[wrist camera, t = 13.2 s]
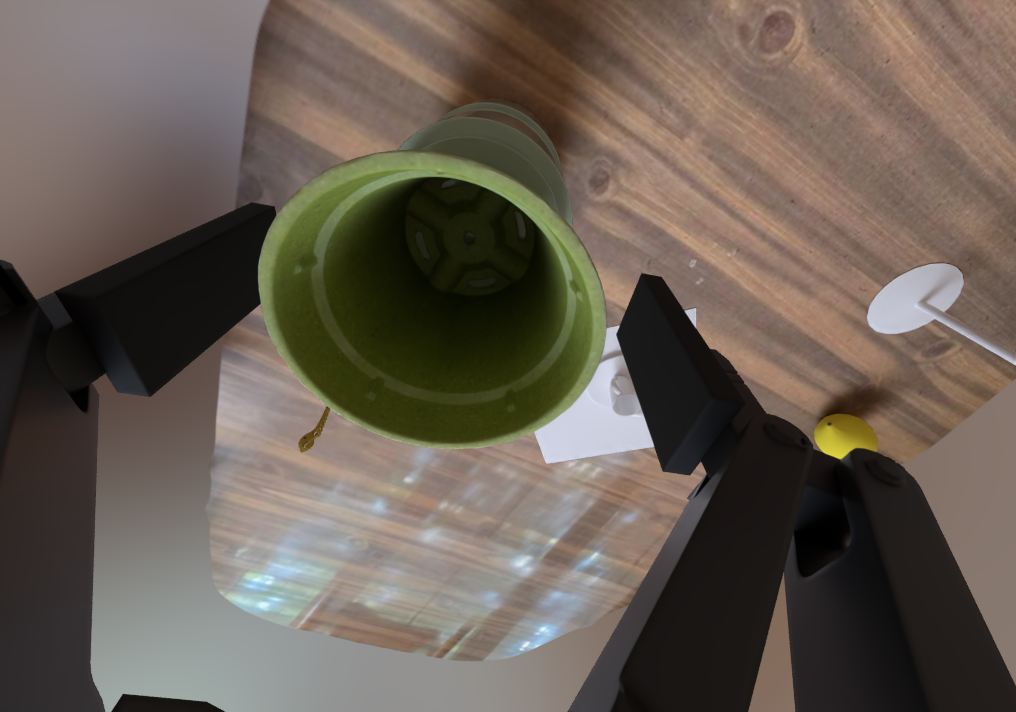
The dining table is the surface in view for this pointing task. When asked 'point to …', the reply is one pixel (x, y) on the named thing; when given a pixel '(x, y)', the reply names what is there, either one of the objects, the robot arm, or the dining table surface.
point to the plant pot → (432, 300)
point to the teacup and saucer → (600, 413)
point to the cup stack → (498, 153)
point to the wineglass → (926, 305)
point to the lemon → (844, 435)
